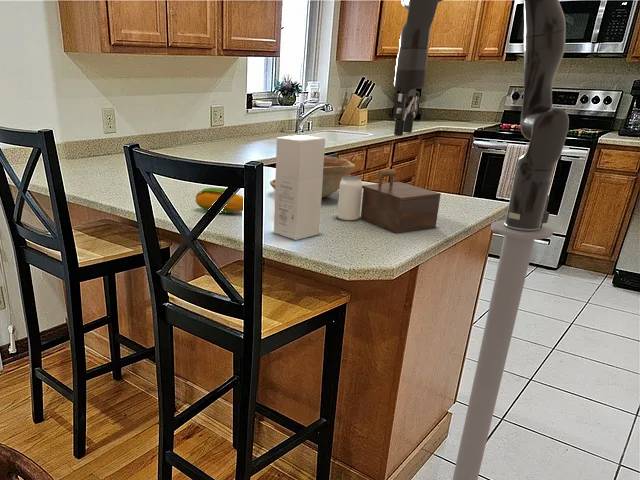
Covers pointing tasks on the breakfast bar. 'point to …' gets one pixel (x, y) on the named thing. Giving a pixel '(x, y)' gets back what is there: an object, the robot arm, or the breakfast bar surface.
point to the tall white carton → (298, 186)
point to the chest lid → (398, 188)
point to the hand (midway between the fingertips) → (403, 134)
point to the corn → (212, 194)
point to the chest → (399, 212)
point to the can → (349, 198)
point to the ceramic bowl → (332, 174)
